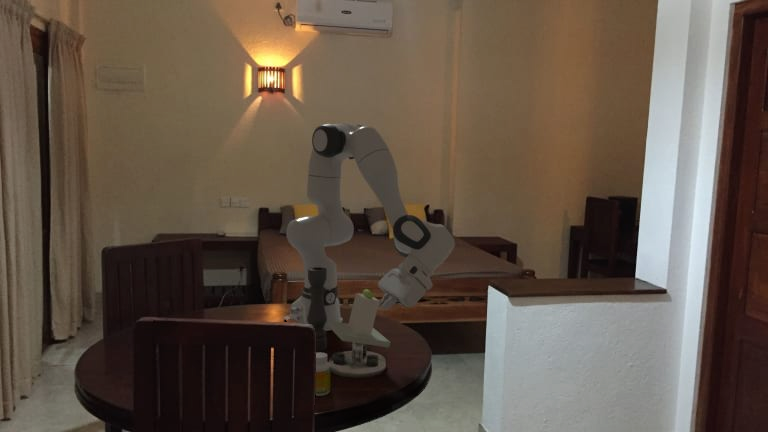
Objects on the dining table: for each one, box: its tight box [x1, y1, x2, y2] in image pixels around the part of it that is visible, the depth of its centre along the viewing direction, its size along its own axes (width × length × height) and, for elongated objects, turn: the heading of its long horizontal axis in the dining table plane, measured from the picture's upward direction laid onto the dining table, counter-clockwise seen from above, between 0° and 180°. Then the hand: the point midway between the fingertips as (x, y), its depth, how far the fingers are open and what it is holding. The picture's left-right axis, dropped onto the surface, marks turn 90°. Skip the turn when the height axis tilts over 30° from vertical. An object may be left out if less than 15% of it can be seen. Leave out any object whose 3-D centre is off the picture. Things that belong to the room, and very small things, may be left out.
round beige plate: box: [328, 342, 387, 379], centre depth 159 cm, size 16×16×8 cm
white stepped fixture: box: [328, 288, 391, 348], centre depth 159 cm, size 14×14×13 cm
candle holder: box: [307, 267, 328, 353], centre depth 173 cm, size 6×6×25 cm
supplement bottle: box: [315, 351, 331, 397], centre depth 142 cm, size 5×5×10 cm
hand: (381, 308), depth 161 cm, fingers closed
